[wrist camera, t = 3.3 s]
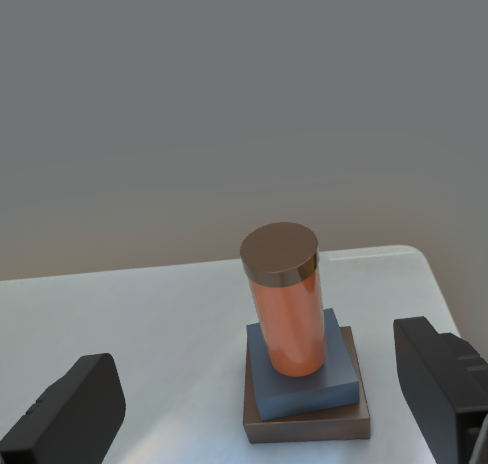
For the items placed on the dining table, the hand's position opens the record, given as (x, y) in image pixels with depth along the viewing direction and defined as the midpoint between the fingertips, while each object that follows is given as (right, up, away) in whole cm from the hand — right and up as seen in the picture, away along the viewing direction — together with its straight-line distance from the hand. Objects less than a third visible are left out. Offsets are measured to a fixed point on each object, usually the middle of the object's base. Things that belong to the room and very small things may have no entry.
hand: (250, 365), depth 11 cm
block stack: (+5, -11, +25) cm, 28 cm away
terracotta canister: (+4, -6, +22) cm, 23 cm away
